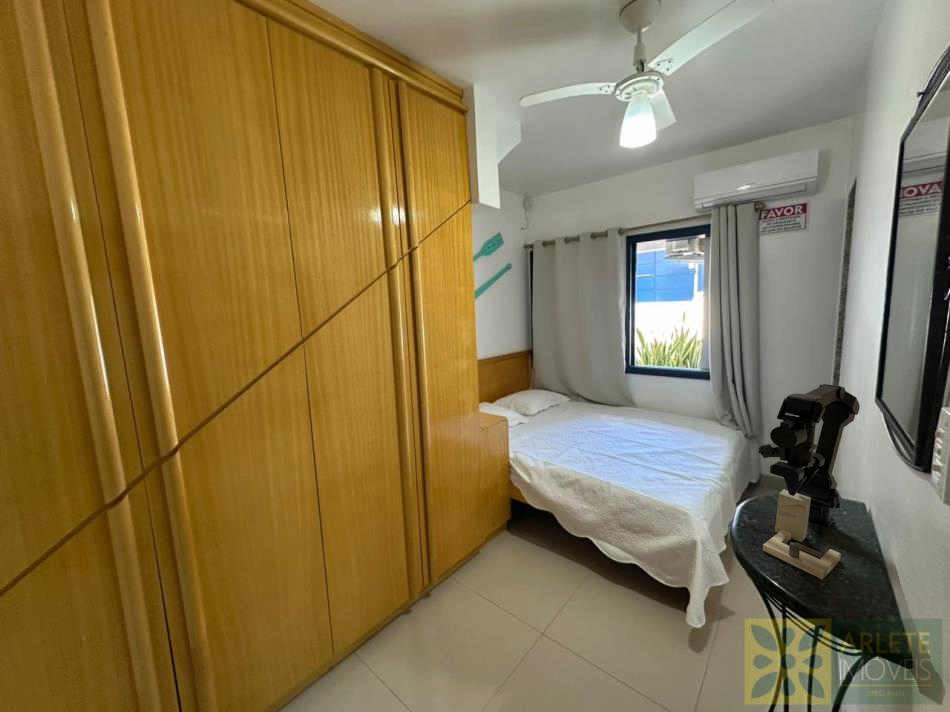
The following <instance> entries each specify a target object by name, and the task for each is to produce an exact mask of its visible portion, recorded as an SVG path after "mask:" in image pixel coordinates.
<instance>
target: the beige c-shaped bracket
mask: <svg viewBox="0 0 950 712" xmlns="http://www.w3.org/2000/svg"><path fill="white" fill-rule="evenodd" d="M791 540H792V538H791V533H790V532H788V531H785V530H783V529H782V530H781V531H780V532H779V533H778V532H776V534H775V535H773V537H771V538H769V540H767V541H766V542H764V543H763V544H762V551H763V552H765V553H766V554H767V553H768V554H769V555H771V556H774V557H775V558H778V559H780V560H782V561H784V562H786V563H788V564H790V565H792V566H794V567H796V568H798V569H800V570H802V571H804V572H805V573H809V574H810V575H813V576H815V577H817V578H819V579H820V580H824V578H825V577H826V576H827V575H828V574H829V573H830V572H831V571H832V570H833V569H834V568H835V567H836V565H837V564H838V563H839V562H840V561H841V553H840V552H838V551H835V550H834V549H831V548H830V549H828V551H826V553H824V554H823V553H822V552H820V551H818V550H815V549H813V548H811V547H808V546H806V545H804V544H801V543H799V542H798V541H795V542H792V541H791ZM790 541H791V542H790ZM788 543H789V545H788ZM819 558H820V559H819Z"/></svg>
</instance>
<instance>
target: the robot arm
mask: <svg viewBox="0 0 950 712" xmlns="http://www.w3.org/2000/svg"><path fill="white" fill-rule="evenodd" d="M860 406H861V405H860V402H859V400H858V399H857V396H855V395H853V394H851V393H850V392H848V391H847V390H846V389H845V387H844V386H841V385H837V384H828V383H824V384H823V383H822V384H819V386H818V387H817V388H815V389H813V390H811V391H809V392H806V393H790V394H788V395H787V397H784V399H783V400H782V404H781V406H780V409H779V410H778V414H777V416H776V419H777V420H779V421H780V423H779V426H776V427H774V428H773V429H772V430H771V431H770V432H769V433H770V434H769V437H770V440H771V441H772V443H765V444H761V445H760V446H759V447H758V451H757V453H758V454H760V455H761V457H762V458H764V459H768V458H779V461H777V462H775V463H773V464H771V465H770V467H769V473H770V474H772V475H775V476H778V477H781V478H783V479H784V482H785V486H786V490H788V492H789V495H792V496H795V494H796V493H798V494H801V495H804V496H807V497H810V498H811V501H810V509H809V517H808V522H811V523H814V524H817V525H818V526H821V527H824V528H828V527H829V526H830V525H832V524H833V523H834V522H835V519H834V518H832V517H831V512H832V510H835V509H841V505H842V497H841V495H840V492H839V490H838V489H837V488H838V483H837V481H836V478H835V476H834V475H833V470H834V467H835V462H836V459H837V456H838V451H839V449H840V444H841V440H842V435H843V432H844V429H845V427H847V426H848V425H849V424H851V423H852V422H854V421H855V417H856V416H857V415H858V414H859V413H860ZM821 420H822V425H821V430H820V433H819V437H818V440H817V444H815V434H816V426H817V424H820V422H821ZM814 451H815V452H814ZM785 461H786V462H785Z"/></svg>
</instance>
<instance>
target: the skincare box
mask: <svg viewBox="0 0 950 712" xmlns="http://www.w3.org/2000/svg"><path fill="white" fill-rule="evenodd" d="M810 501H811V498H810V497H807V496H804V495H801V494H798V493H796V494H795V496H792V495H789V492H788V489H785V488H782V489H781V491H780V492H779V493H778V499H777V507H776V509H777V510H776V517H775V526H774V532H775V533H779V532H780V531H781V530H782V529H783V530H785V531H788V532H790V533H791V540H794V541H796V542H798V543H799V542H800V543H802V542H803V541H804V540H805V539H806V537H807V533H808V526H809V525H808V523H809V521H808V517H809V509H810Z"/></svg>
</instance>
